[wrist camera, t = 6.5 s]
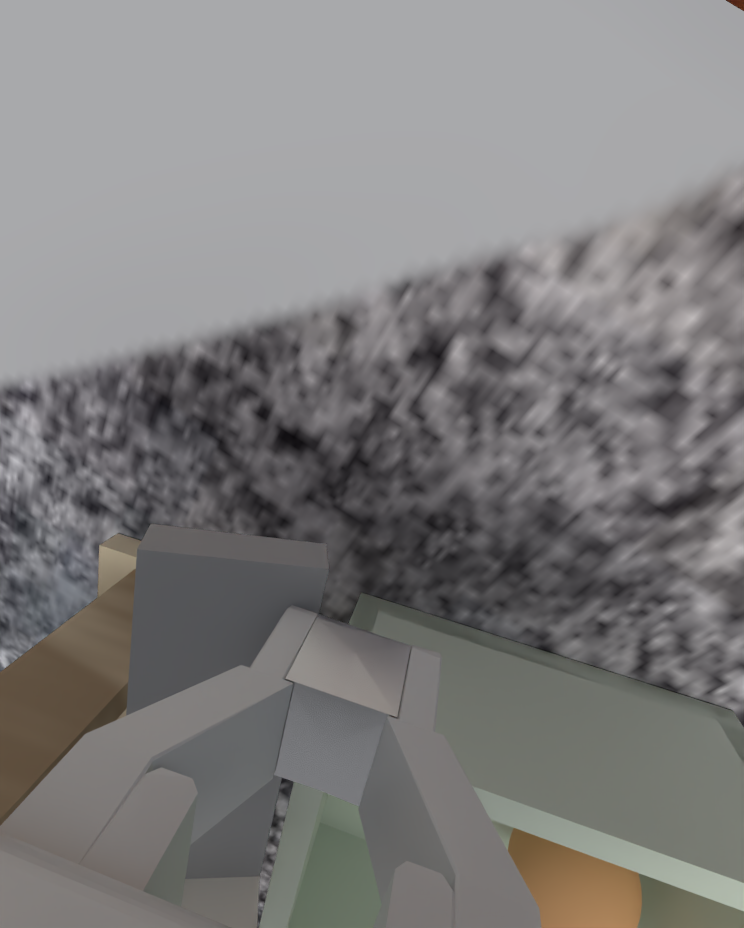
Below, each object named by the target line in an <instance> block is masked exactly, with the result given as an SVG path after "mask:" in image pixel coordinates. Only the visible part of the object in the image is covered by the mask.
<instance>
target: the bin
mask: <svg viewBox="0 0 744 928" xmlns="http://www.w3.org/2000/svg"><path fill="white" fill-rule="evenodd" d="M349 625H352V626H355V627H358V628H360V629H363V630H366V631H369V632H372V633H374V634H377V635H380V636H383V637H386V638H389V639H393V640H396V641H399V642H402V643H405V644H408V645H414V646H418V647H421V648H425V649H428V650H431V651H435V652H438V653H440V654H441V657H442V661H441V672H440V683H439V694H438V705H437V715H436V726H435V732H436V733H439V734H442V735H444V736H445V738H446V739H447V741H448V743H449V745H450V747H451V748H452V750H453V752H454V754H455V756H456V758H457V759H458V761H459V763H460V765H461V767H462V768H463V770H464V772H465V774H466V776H467V778H468V779H469V781H470V783H471V785H472V787H473V788H474V790H475V792H476V794H477V796H478V798H479V799H480V801H481V803H482V805H483V807H484V808H485V810H486V812H487V814H488V816H489V818H490V819H491V821H492V823H493V825H494V827H495V829H496V830H497V832H498V834H499V836H500V838H501V839H502V841H503V843H504V845H505V847H506V849H507V850H508V845H509V840H510V837H511V833H512V831H513V828H516V829H519V830H521V831H524V832H527V833H530V834H532V835H535V836H538V837H541V838H543V839H546V840H549V841H552V842H554V843H557V844H560V845H563V846H565V847H568V848H571V849H574V850H576V851H579V852H582V853H585V854H587V855H590V856H593V857H596V858H598V859H601V860H604V861H607V862H609V863H612V864H615V865H618V866H620V867H623V868H626V869H629V870H631V871H634V872H637V873H639V878H640V883H641V889H642V908H641V915H640V920H639V923H638V926H637V928H744V728H743V726H742V724H741V723H740V721H739V720H738V718H737V717H736V715H735V713H734V712H733V711H731V710H728V709H725V708H722V707H719V706H716V705H713V704H709V703H706V702H703V701H700V700H697V699H694V698H691V697H687V696H684V695H681V694H678V693H675V692H672V691H669V690H665V689H662V688H659V687H656V686H653V685H650V684H647V683H644V682H640V681H637V680H634V679H631V678H628V677H625V676H622V675H618V674H615V673H612V672H609V671H606V670H603V669H600V668H596V667H593V666H590V665H587V664H584V663H581V662H578V661H575V660H571V659H568V658H565V657H562V656H559V655H556V654H553V653H549V652H546V651H543V650H540V649H537V648H534V647H531V646H527V645H524V644H521V643H518V642H515V641H512V640H509V639H506V638H502V637H499V636H496V635H493V634H490V633H487V632H484V631H480V630H477V629H474V628H471V627H468V626H465V625H462V624H458V623H455V622H452V621H449V620H446V619H443V618H440V617H437V616H433V615H430V614H427V613H424V612H421V611H418V610H415V609H411V608H408V607H405V606H402V605H399V604H396V603H393V602H390V601H386V600H383V599H380V598H377V597H374V596H371V595H368V594H364V593H361V594H360V596H359V599H358V601H357V604H356V606H355V609H354V611H353V614H352V616H351V619H350V621H349ZM358 809H359V806H357V805H354V804H352V803H349V802H347V801H344V800H342V799H339V798H337V797H334V796H332V795H329V794H327V793H325V792H322V791H320V790H317V789H314V788H311V787H309V786H306V785H303V784H300V783H297V782H294V783H293V787H292V792H291V796H290V800H289V804H288V808H287V812H286V817H285V821H284V825H283V829H282V833H281V838H280V842H279V846H278V850H277V854H276V858H275V863H274V867H273V871H272V875H271V879H270V884H269V888H268V892H267V896H266V900H265V904H264V909H263V913H262V917H261V921H260V925H259V928H373V926H374V924H375V921H376V918H377V916H378V913H379V910H380V908H381V905H382V903H381V899H380V895H379V891H378V887H377V883H376V879H375V875H374V871H373V867H372V863H371V859H370V855H369V851H368V847H367V843H366V839H365V835H364V831H363V827H362V823H361V819H360V815H359V810H358Z"/></svg>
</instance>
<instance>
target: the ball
mask: <svg viewBox="0 0 744 928" xmlns="http://www.w3.org/2000/svg"><path fill="white" fill-rule="evenodd" d="M508 852H509V854H510V856H511V858H512V859H513V861H514V863H515V865H516V867H517V869H518V870H519V872H520V874H521V876H522V878H523V879H524V881H525V883H526V885H527V887H528V889H529V890H530V892H531V894H532V896H533V898H534V899H535V901H536V903H537V905H538V907H539V910H540V920H541V928H637V926H638V923H639V920H640V915H641V908H642V889H641V883H640V878H639V873H637V872H634V871H631V870H629V869H626V868H623V867H620V866H618V865H615V864H612V863H609V862H607V861H604V860H601V859H598V858H596V857H593V856H590V855H587V854H585V853H582V852H579V851H576V850H574V849H571V848H568V847H565V846H563V845H560V844H557V843H554V842H552V841H549V840H546V839H543V838H541V837H538V836H535V835H532V834H530V833H527V832H524V831H521V830H519V829H516V828H513V831H512V833H511V837H510V840H509V845H508Z"/></svg>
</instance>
